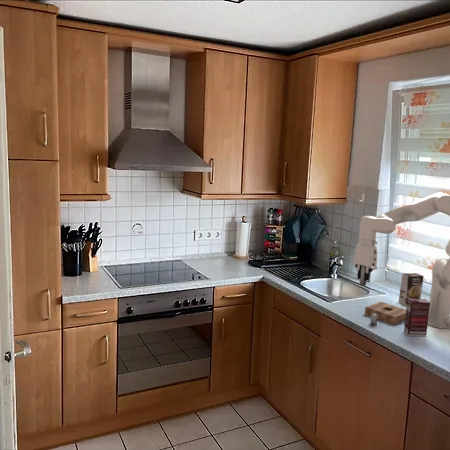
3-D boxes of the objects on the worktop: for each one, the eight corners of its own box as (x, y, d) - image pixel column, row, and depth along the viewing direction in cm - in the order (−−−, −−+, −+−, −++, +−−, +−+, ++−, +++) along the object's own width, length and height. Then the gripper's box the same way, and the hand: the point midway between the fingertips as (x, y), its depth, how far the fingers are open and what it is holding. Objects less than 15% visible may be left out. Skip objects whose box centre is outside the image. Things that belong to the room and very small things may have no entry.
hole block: (409, 318, 228) (410, 311, 227) (394, 325, 219) (395, 317, 218) (380, 309, 240) (380, 301, 239) (364, 314, 231) (365, 306, 230)
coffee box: (405, 306, 247) (409, 276, 244) (398, 301, 253) (401, 273, 250) (420, 305, 249) (424, 276, 246) (412, 301, 255) (416, 272, 253)
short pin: (378, 324, 218) (379, 314, 217) (374, 326, 216) (375, 316, 215) (372, 322, 220) (373, 312, 219) (368, 324, 218) (370, 314, 218)
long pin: (367, 285, 225) (369, 264, 223) (363, 286, 223) (365, 265, 221) (361, 283, 227) (363, 263, 225) (358, 284, 225) (360, 264, 223)
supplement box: (421, 332, 212) (426, 298, 209) (426, 336, 207) (431, 302, 204) (402, 331, 212) (407, 298, 209) (407, 336, 207) (411, 301, 204)
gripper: (386, 244, 217) (382, 282, 221) (356, 238, 230) (353, 274, 233) (377, 246, 213) (373, 285, 216) (347, 239, 225) (344, 276, 228)
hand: (363, 279), depth 224 cm, fingers closed on long pin, 3 cm apart
